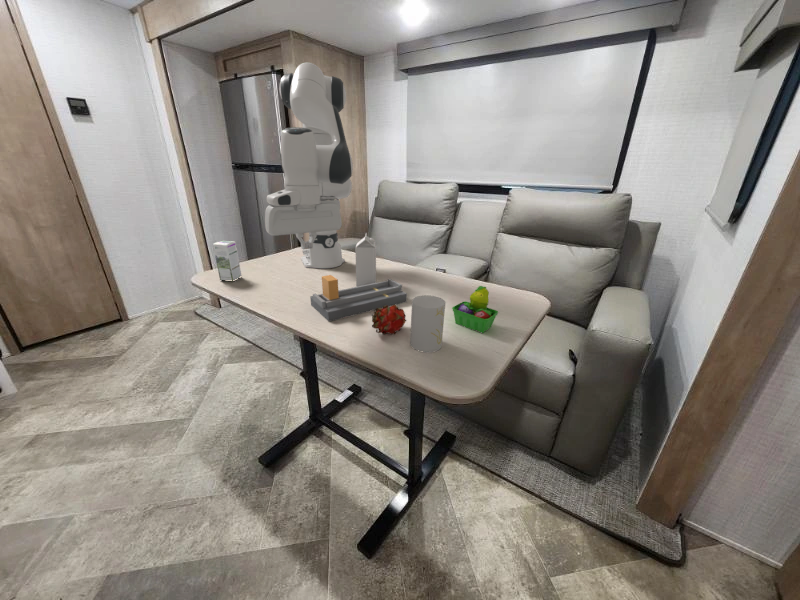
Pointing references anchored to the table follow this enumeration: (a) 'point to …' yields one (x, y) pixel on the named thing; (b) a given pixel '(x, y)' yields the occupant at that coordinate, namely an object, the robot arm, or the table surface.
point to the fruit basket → (475, 311)
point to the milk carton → (365, 261)
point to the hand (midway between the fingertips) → (307, 248)
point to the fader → (330, 288)
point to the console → (360, 300)
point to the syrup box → (227, 260)
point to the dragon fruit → (388, 319)
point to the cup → (427, 323)
